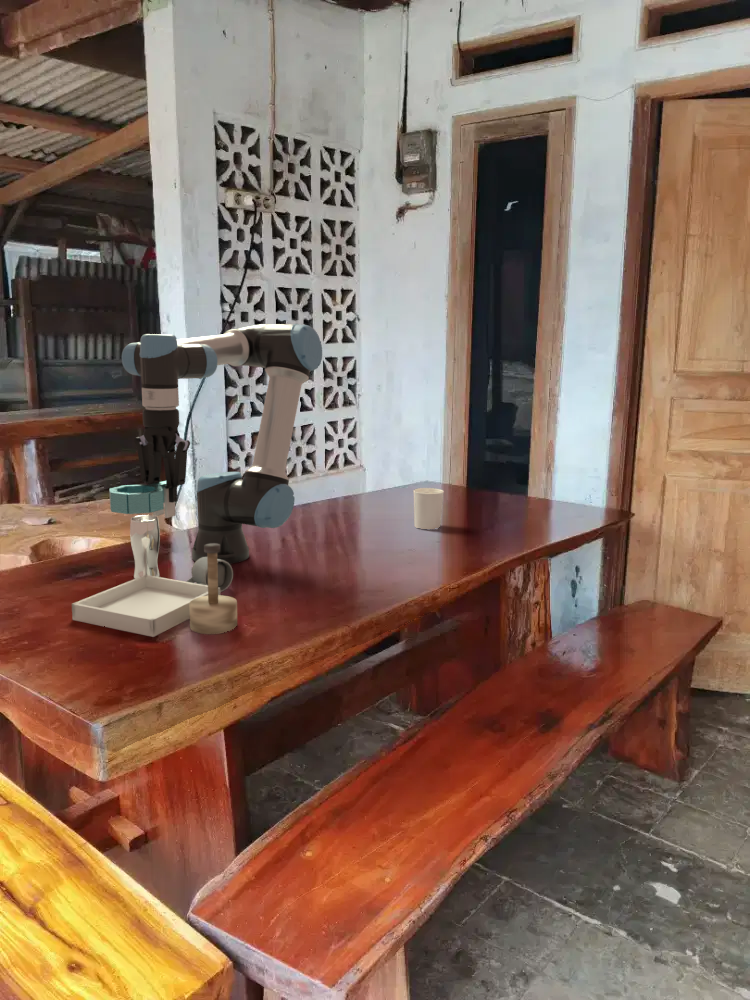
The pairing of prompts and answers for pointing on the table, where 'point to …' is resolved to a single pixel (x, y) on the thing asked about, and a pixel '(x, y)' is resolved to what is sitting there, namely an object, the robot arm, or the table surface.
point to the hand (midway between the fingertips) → (164, 515)
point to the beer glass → (145, 544)
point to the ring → (137, 498)
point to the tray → (141, 605)
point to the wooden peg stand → (213, 602)
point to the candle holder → (428, 507)
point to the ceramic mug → (202, 573)
